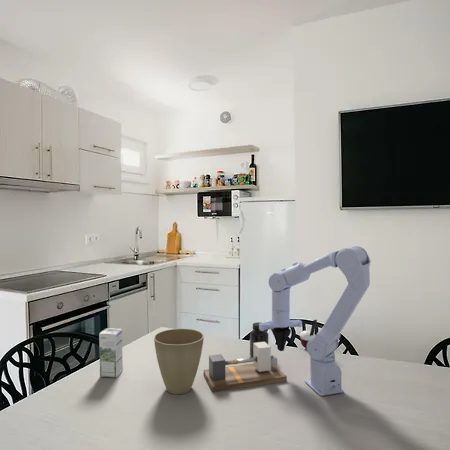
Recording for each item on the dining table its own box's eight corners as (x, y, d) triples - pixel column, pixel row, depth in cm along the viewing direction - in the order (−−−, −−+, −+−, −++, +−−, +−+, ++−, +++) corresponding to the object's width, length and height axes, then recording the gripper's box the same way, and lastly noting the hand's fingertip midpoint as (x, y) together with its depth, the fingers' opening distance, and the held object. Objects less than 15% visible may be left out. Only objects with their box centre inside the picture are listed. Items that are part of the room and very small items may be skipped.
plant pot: (196, 403, 99) (196, 346, 99) (146, 398, 102) (145, 342, 102) (209, 379, 114) (209, 329, 113) (165, 375, 117) (164, 326, 116)
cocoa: (299, 344, 145) (297, 314, 146) (314, 343, 145) (313, 314, 145) (303, 351, 136) (301, 320, 136) (319, 351, 136) (318, 319, 136)
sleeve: (270, 370, 114) (270, 346, 114) (258, 371, 113) (258, 348, 113) (264, 364, 119) (264, 341, 119) (253, 365, 118) (253, 342, 118)
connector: (225, 379, 110) (225, 360, 110) (212, 381, 109) (212, 361, 109) (221, 372, 115) (221, 354, 115) (209, 374, 114) (208, 355, 114)
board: (286, 381, 112) (286, 376, 112) (212, 391, 105) (212, 386, 105) (271, 365, 124) (271, 361, 124) (203, 374, 117) (203, 369, 117)
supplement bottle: (269, 360, 128) (269, 327, 128) (250, 360, 129) (250, 327, 128) (267, 352, 135) (267, 321, 135) (249, 352, 135) (249, 321, 135)
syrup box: (123, 370, 120) (122, 327, 120) (116, 378, 114) (115, 333, 114) (107, 369, 121) (106, 327, 120) (99, 377, 115) (98, 333, 115)
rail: (277, 370, 117) (277, 355, 116) (217, 378, 111) (217, 363, 111) (274, 367, 118) (274, 353, 118) (216, 375, 113) (216, 360, 113)
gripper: (295, 304, 123) (295, 343, 124) (255, 307, 119) (255, 347, 120) (305, 309, 117) (305, 350, 117) (263, 313, 113) (263, 355, 113)
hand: (280, 349), depth 118 cm, fingers closed
